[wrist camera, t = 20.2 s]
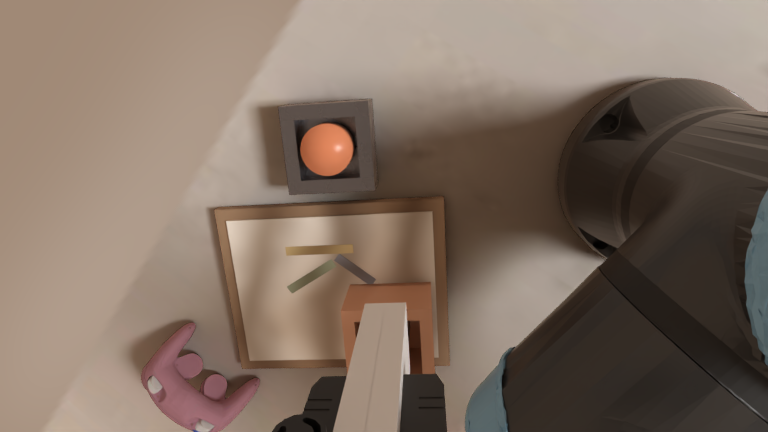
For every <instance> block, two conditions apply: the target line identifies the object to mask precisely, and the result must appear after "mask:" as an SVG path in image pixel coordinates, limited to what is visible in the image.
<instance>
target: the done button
mask: <svg viewBox="0 0 768 432" xmlns="http://www.w3.org/2000/svg"><path fill="white" fill-rule="evenodd" d="M300 151H301V156H302V159H303V161H304V163H305V165H306V166H307V167H308V168H309V169H310V170H311V171H313V172H314V173H316V174H319V175H322V176H332V175H336V174H338V173H340V172H341V171H343V170H344V169H345V168H346V167H347V165H348V164H349V163H350V162H351V160H352V158H353V156H354V152H355V142H354V139H353V137H352V135H351V133H350V132H349V130H348V129H347V128H345V127H344V126H342V125H341V124H338V123H335V122H324V123H321V124H319V125H317V126H315V127H313V128H311V129H310V130H309V131H308V132H307V133H306V134H305V135H304V137H303V139H302V142H301V147H300Z"/></svg>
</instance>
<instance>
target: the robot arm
mask: <svg viewBox="0 0 768 432" xmlns="http://www.w3.org/2000/svg"><path fill="white" fill-rule="evenodd" d="M558 193H559V199H560V203H561V206H562V209H563V212H564V214H565V217H566V218H567V220H568V222H569V224H570V225H571V227H572V228H573V229H574V231H575V232H576V233H577V234H578V235H579V236H580V237H581V238H582V239H583V241H584V242H585V243H586V244H587V245H589V246H590V247H591V248H592V249H593V250H594V251H596V252H597V253H598V254H600V255H601V256H603V257H605V258H607V260H606V261H605V262H603V263H602V264H601V265H600V266H598V267H597V268H596V269H595V270H594V271H593V272H592V273H591V274H590V275H589V276H588V277H587V278H586V279H585V280H584V281H583V282H582V283H581V284H580V285H579V286H578V287H577V288H576V289H575V290H574V291H573V292H572V293H571V294H570V295H569V296H568V297H567V298H566V299H565V300H564V301H563V302H562V303H561V304H560V305H559V306H558V307H557V308H556V309H555V310H554V311H553V312H552V313H551V314H550V315H549V316H548V317H547V318H546V319H545V320H544V321H542V322H541V323H540V324H539V325H538V326H537V327H536V328H535V329H534V330H533V331H532V332H531V333H530V334H529V335H528V336H527V337H526V338H525V339H524V340H523V341H522V342H521V343H520V344H519V345H518V346H516V347H513V348H509V349H508V350H507V351H506V352H505V353H504V354H503V356H502V357H501V359H500V362H499V364H498V366H497V367H496V368H495V369H494V370H493V371H492V372H491V373H490V374H489V375H488V377H487V378H486V379H485V380H484V381H483V382H482V383H481V384H480V385H479V386H478V387H477V389H476V390H475V391H474V393H473V394H472V396H471V398H470V400H469V403H468V406H467V410H466V415H465V430H466V432H768V112H760V111H757V110H756V109H754V108H753V107H752V106H750V105H749V104H748V103H747V102H746V101H744V100H743V99H742V98H741V97H739V96H738V95H737V94H735V93H733V92H732V91H730V90H728V89H726V88H724V87H722V86H719V85H716V84H714V83H710V82H707V81H702V80H697V79H688V78H659V79H652V80H646V81H642V82H639V83H635V84H632V85H630V86H627V87H625V88H623V89H621V90H619V91H617V92H615V93H613V94H611V95H610V96H608V97H607V98H605V99H604V100H602V101H601V102H600V103H598V104H597V105H596V106H595V107H594V108H593V109H591V110H590V111H589V112H588V113H587V114H586V115H585V117H584V118H583V119H582V120H581V121H580V123H579V124H578V125H577V127H576V128H575V130H574V131H573V133H572V134H571V136H570V138H569V140H568V142H567V144H566V146H565V149H564V151H563V154H562V157H561V161H560V165H559V172H558ZM272 432H447V426H446V411H445V396H444V384H443V383H442V381H441V380H440V379H439V377H438V376H437V374H410V358H409V342H408V327H407V311H406V302H403V303H368V304H365V305H364V309H363V313H362V317H361V321H360V325H359V329H358V333H357V337H356V341H355V345H354V349H353V353H352V357H351V361H350V365H349V369H348V373H347V376H332V377H321V378H320V379H319V380H318V381H317V382H316V383H315V384H314V385H313V387H312V388H311V391H310V394H309V397H308V401H307V402H306V405H305V408H304V411H303V414H300V415H294V416H292V417H289V418H287V419H284V420H283V421H282V422H280V423H279V424H278V425H276V427H275V428H274V430H273V431H272Z"/></svg>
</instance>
